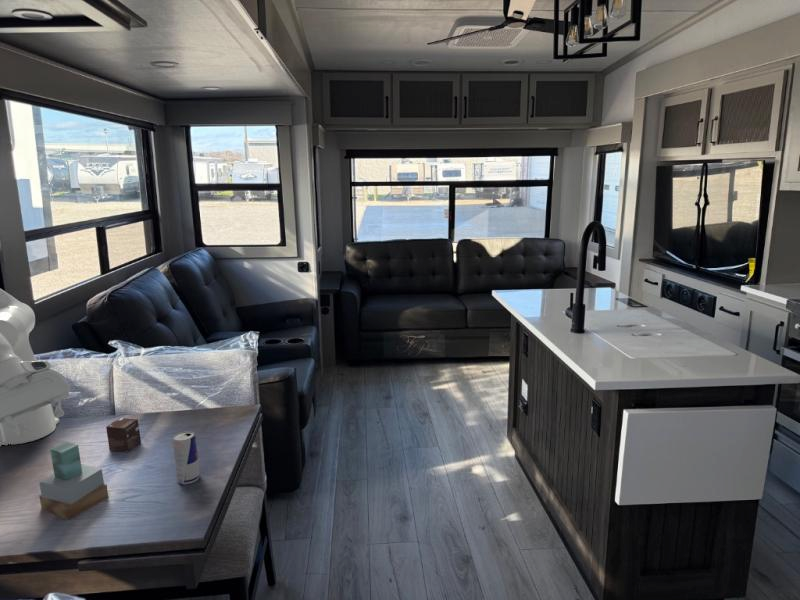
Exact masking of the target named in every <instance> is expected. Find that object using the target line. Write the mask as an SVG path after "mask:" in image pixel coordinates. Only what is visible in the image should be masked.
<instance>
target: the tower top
mask: <svg viewBox="0 0 800 600" xmlns="http://www.w3.org/2000/svg"><path fill="white" fill-rule="evenodd" d="M81 467H82V473H80V474H78V475H76V476H74V477H72V478H70V479H68V480H63V479H60V478H57V477H55V475H54V473H52V474H50V475H49V476H47V477H45V478H43V479H41V480H39V488H40V495H41V494H42V497H43V498H47V499H51V500H54V501H58V502H62V503H66V504H70V505H71V504H73V503H74V502H76V501H78V500H79V499H81V498H82V497H84V496H86V495H87V494H89V493H90V492H92V491H94V490H95V489H97V488H98V487H100V486H102V485H103V484H105V482H104V475H103V469H102V468H100V467H94V466H91V465H86V464H82V463H81Z"/></svg>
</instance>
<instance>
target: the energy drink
mask: <svg viewBox="0 0 800 600" xmlns="http://www.w3.org/2000/svg"><path fill="white" fill-rule="evenodd" d="M172 446H173V448H172V449H173V454H174V455H173V456H174V462H175V463H174V465H175V472H176V478H177V482H178V483H179V484H180V485H191V484H194V483H195V482H197V481H199V478H200V477H201V474H200V466H199V465H200V464H199V456H198V455H199V454H198V448H197V436H196V435H195V432H193V431H190V430H185V431H180V432H177V433H176V434H174V435H173V437H172Z"/></svg>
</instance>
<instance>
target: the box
mask: <svg viewBox="0 0 800 600" xmlns="http://www.w3.org/2000/svg"><path fill="white" fill-rule="evenodd" d="M105 429H106V434H107V435H106V436H107V441H108V442H107V444H108V448H109V451H112V452H113V451H114V452H125V453H128V452H130V451H131V450H133V449H134V448H136V447H137V446H138V445H140V444H141V443H142V439H141V432H140V425H139V418H127V417H126V418H125V417H124V418H123V417H120V418H118V419H117V420H115V421H113V422H111V423H109V424H108V425H107V426H105Z"/></svg>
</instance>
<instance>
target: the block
mask: <svg viewBox="0 0 800 600" xmlns="http://www.w3.org/2000/svg"><path fill="white" fill-rule="evenodd" d="M49 450H50V456H51V457H50V458H51V462H52V469H53V474H54V475H55V477H57V478H60V479H63V480H68V479H70V478H72V477H74V476H76V475H78V474H80V473H82V467H81V464H82V462H81V456H80V455H81V454H80V448H79V445H78V444H76V443H73V442H69V441H65V442H63V443H60V444H59V445H56V446H55V447H52V448H50V449H49Z"/></svg>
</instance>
